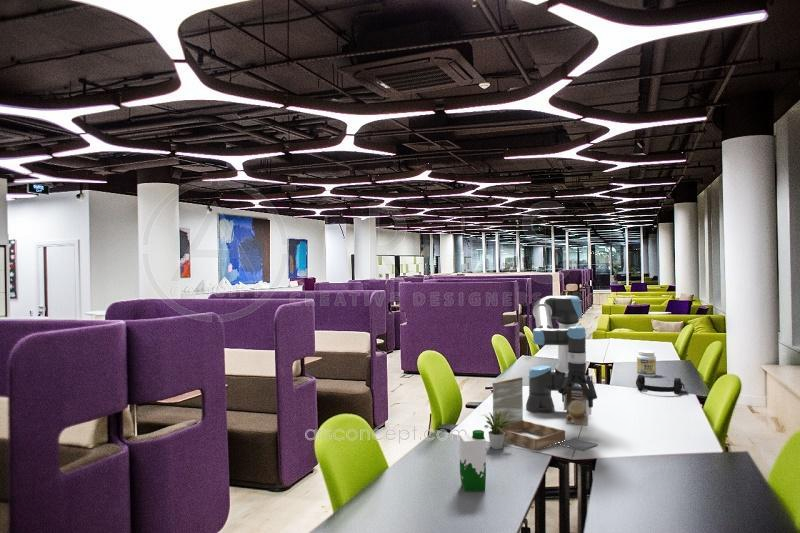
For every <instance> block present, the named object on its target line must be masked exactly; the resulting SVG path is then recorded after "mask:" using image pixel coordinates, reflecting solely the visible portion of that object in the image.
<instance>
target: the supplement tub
mask: <svg viewBox="0 0 800 533" xmlns="http://www.w3.org/2000/svg"><path fill="white" fill-rule="evenodd" d="M637 352H638V355H637V356H636V374H637V376H638V375H644V377H646V378H647V377H648V378H649V377H650V378H653V377H656V375H657V370H656V369H657V368H656V365H657V359H656V358H657V357H656V356H655V351H653V350H638V351H637Z"/></svg>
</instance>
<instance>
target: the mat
mask: <svg viewBox="0 0 800 533" xmlns="http://www.w3.org/2000/svg"><path fill="white" fill-rule="evenodd" d="M558 444H561V445H565V446H569V447H572V448H575V449H574V450H576V449H577V450H576V451H579V450H580V452H584V451H586V450H588V448H589V449H591V447H592V448H594V447H597V446H598V443H595V442H593V441H589V440H588V441H587V440H584V439H579V438H576V437H572V438H569V439H565V441H563V442H560V443H557V445H558ZM561 445H560V446H561ZM596 445H597V446H596ZM565 446H564V447H565ZM593 446H594V447H593ZM569 447H568V448H569ZM572 448H571V449H572Z"/></svg>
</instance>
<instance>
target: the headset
mask: <svg viewBox="0 0 800 533" xmlns="http://www.w3.org/2000/svg"><path fill="white" fill-rule="evenodd" d="M681 380H682V379H681V378H680V377H675V378H674V379H673V386H656V385H649V384H648V385H647V384H646V378H645V377H644V375H638V374H637V377H636V380H635V385H636V386H635V387H636V388H637V390H638V391H643V390H645V391H650V392H656V393H669V392H670V393H671V392H673V393H674V394H681V392H682V390H685V389H686V388H685V384H684V383H683V382H682V381H681ZM667 381H668V382H670V380H667Z"/></svg>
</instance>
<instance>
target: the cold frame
mask: <svg viewBox="0 0 800 533" xmlns="http://www.w3.org/2000/svg"><path fill="white" fill-rule="evenodd" d="M523 378H524V377H522V376H520V377H514V378H509V379H508V378H507V379H505V380H504V379H503V380H500V381H495V382H494V381H493V382H492V416H493V417H494V421H495V411H496V413H497V414H498V412H499V411H500V410H501V412H500V414H501V413H502V412H504V413H503V414H502V415H501V417H500V419H499V422H500V421H501V420H502V419H503V418H504V417H505V416H506V415H508V414H509V415H508V416H507V417H510V418H507V417H506V418H505V420H503V422H504V421H515V422H508V423H505V424H504V425H506V426H507V425H510V426H508V427H510V428H503V426H504V425H503V426H502V429H503V430H502V429H501V430H502V431H503V432H505V436H504V441H506V442H509V443H512V444H516V445H519V446H522V447H525V448H529V449H532V450H535V449H536V451H539V450H542V449H545V448H548V447H550V445H551V446H554V445H556V444H555V443H557V444H558V442H562V441H564V440H565V441H566V430H564V429H560V428H555V427H552V426H549V425H543V424H540V423H536V422H532V421H528V420H524V419H523V418H524V415H523V414H524V413H523V412H524V411H523V403H524V402H523V400H524V399H523V396H524V395H523V380H524V379H523ZM504 427H505V426H504ZM522 431H525V432H528V433H532V434H535V435H539V436H540V437H537V438H536V437H533V436H529V435H526V434H522V433H520V432H522ZM553 444H554V445H553ZM547 446H548V447H547ZM544 447H545V448H544ZM541 448H542V449H541ZM538 449H539V450H538Z"/></svg>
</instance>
